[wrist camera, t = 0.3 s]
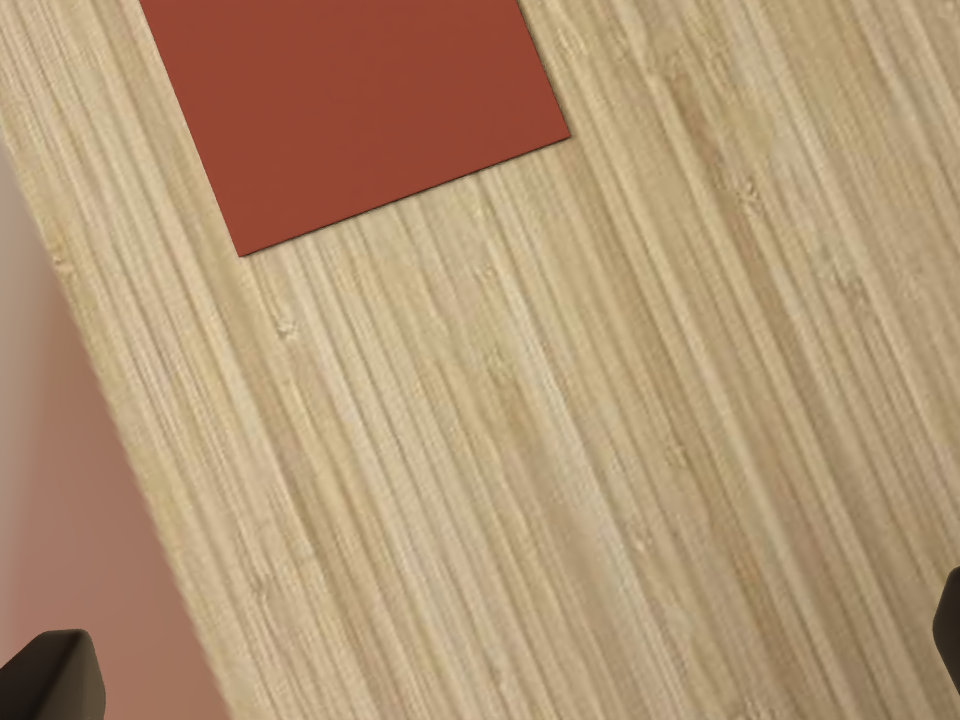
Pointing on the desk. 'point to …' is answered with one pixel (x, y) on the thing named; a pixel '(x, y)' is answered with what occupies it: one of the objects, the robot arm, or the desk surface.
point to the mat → (348, 101)
